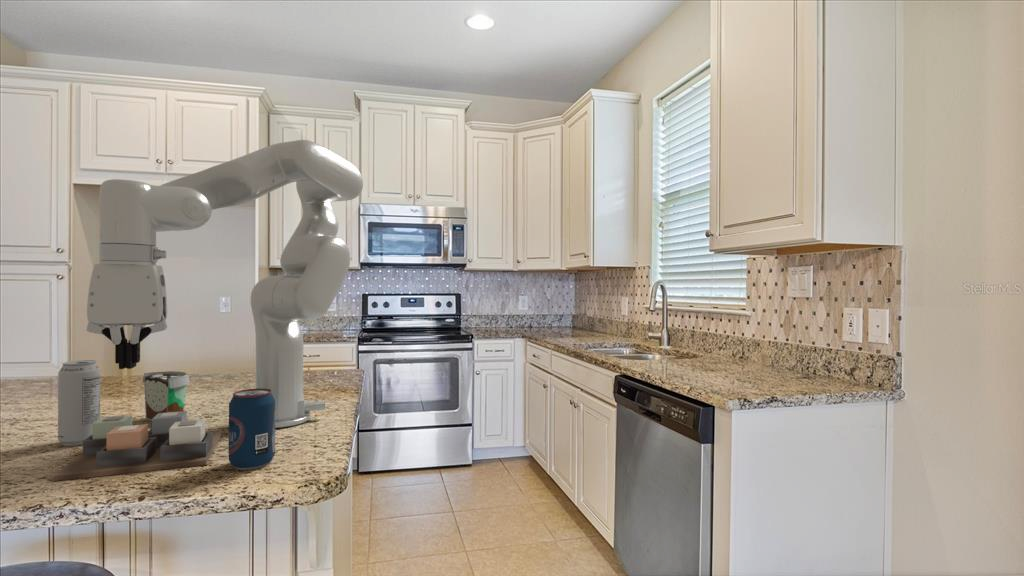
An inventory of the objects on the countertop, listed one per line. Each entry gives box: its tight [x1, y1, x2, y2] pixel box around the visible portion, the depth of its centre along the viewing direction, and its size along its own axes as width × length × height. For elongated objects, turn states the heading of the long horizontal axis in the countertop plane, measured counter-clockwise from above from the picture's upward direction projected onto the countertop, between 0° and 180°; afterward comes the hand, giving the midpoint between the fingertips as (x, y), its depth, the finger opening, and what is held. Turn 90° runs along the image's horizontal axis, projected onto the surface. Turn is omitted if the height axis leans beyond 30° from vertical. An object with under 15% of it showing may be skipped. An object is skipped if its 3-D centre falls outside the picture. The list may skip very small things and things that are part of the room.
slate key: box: [151, 410, 188, 434], centre depth 94 cm, size 4×4×3 cm
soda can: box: [228, 388, 276, 471], centre depth 85 cm, size 7×7×12 cm
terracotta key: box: [106, 423, 149, 451], centre depth 85 cm, size 4×4×3 cm
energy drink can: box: [57, 359, 101, 447], centre depth 96 cm, size 6×6×15 cm
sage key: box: [92, 414, 133, 439], centre depth 90 cm, size 4×4×3 cm
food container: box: [142, 370, 191, 422], centre depth 112 cm, size 12×6×10 cm, turn 58°
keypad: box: [52, 427, 223, 482], centre depth 89 cm, size 20×18×3 cm
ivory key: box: [169, 419, 206, 445], centre depth 88 cm, size 4×4×3 cm
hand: (127, 367), depth 85 cm, fingers closed
